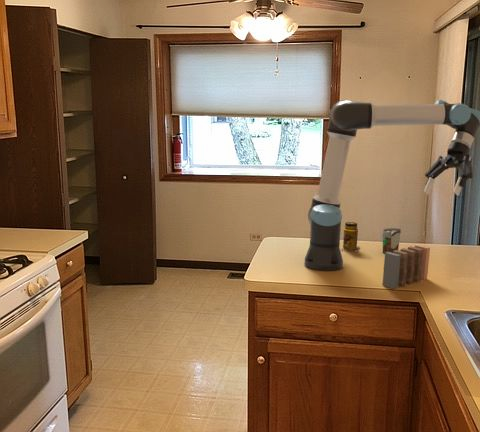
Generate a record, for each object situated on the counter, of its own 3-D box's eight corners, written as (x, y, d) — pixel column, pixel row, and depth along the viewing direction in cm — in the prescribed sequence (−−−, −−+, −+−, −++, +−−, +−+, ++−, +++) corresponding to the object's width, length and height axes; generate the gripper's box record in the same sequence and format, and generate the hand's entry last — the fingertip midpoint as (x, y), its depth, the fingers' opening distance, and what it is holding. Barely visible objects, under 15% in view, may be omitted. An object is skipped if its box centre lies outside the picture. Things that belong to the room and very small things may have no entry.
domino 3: (409, 284, 190) (412, 252, 188) (397, 280, 194) (400, 248, 192) (412, 283, 192) (415, 251, 189) (401, 279, 196) (403, 248, 193)
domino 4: (416, 282, 193) (419, 250, 191) (405, 278, 197) (407, 247, 195) (420, 281, 195) (423, 249, 192) (408, 277, 198) (411, 246, 196)
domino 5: (424, 279, 196) (427, 248, 194) (412, 276, 200) (414, 245, 197) (427, 278, 197) (430, 247, 195) (415, 275, 201) (418, 244, 199)
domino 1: (394, 289, 185) (397, 255, 183) (382, 285, 189) (385, 252, 186) (397, 288, 186) (400, 255, 184) (385, 284, 190) (388, 251, 188)
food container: (385, 248, 240) (387, 226, 238) (399, 250, 236) (401, 228, 234) (375, 253, 230) (377, 231, 228) (389, 256, 226) (391, 233, 224)
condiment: (340, 250, 235) (342, 223, 232) (344, 245, 243) (345, 220, 240) (357, 252, 232) (358, 225, 230) (360, 247, 240) (362, 221, 238)
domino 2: (402, 286, 188) (404, 253, 185) (390, 283, 192) (392, 250, 189) (405, 285, 189) (408, 253, 187) (393, 282, 193) (396, 249, 190)
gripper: (494, 149, 198) (474, 199, 194) (439, 152, 220) (420, 197, 216) (483, 138, 195) (463, 188, 191) (428, 143, 217) (409, 188, 212)
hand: (440, 193), depth 203 cm, fingers open, 13 cm apart
